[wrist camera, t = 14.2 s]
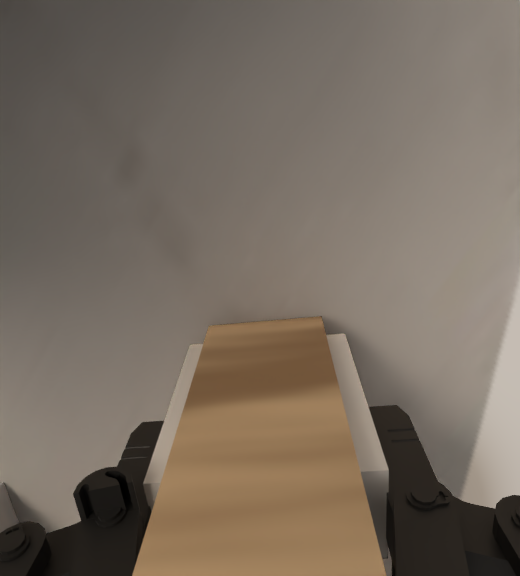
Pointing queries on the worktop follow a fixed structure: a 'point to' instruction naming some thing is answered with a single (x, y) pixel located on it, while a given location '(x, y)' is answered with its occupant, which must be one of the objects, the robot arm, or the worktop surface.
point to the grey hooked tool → (6, 510)
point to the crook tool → (262, 464)
